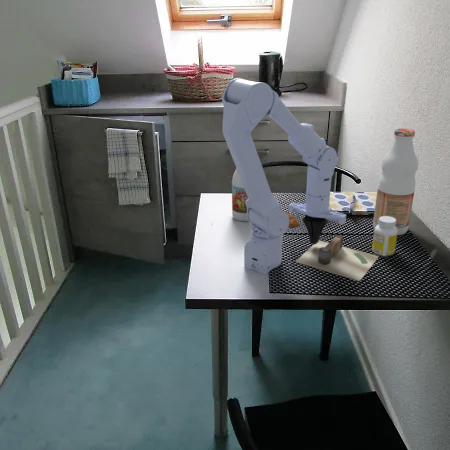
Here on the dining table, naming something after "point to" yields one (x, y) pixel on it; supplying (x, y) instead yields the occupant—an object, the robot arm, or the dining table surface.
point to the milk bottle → (238, 198)
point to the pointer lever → (330, 250)
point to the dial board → (340, 261)
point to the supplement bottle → (385, 236)
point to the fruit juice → (397, 181)
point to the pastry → (292, 220)
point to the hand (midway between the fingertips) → (314, 242)
